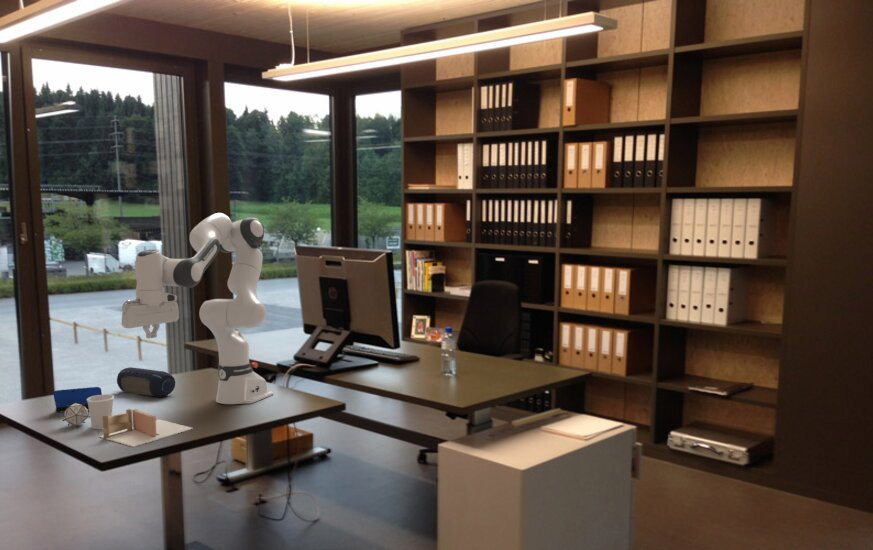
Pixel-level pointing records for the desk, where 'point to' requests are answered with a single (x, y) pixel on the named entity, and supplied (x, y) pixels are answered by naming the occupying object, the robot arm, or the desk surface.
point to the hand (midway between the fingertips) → (151, 337)
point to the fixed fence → (117, 423)
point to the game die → (76, 414)
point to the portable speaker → (146, 382)
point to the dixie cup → (99, 409)
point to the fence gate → (144, 422)
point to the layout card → (141, 438)
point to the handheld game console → (74, 397)
